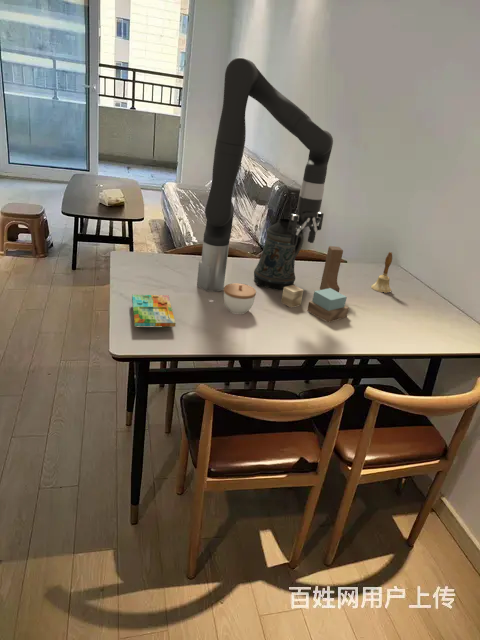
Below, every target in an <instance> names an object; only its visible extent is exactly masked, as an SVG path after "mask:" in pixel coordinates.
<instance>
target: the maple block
mask: <svg viewBox="0 0 480 640" xmlns="http://www.w3.org/2000/svg"><path fill="white" fill-rule="evenodd" d="M303 294H304V289H302V288H300V287H298V286H296V284H295V285H294V284H293V285H291V286H286V287H284V288H283V290H282V295H281V301H280V302H281V303H282V304H284V305H285V306H287V307H289V308H294V307H295V308H296V307H299V306H301V303H302V300H303V299H302V298H303Z"/></svg>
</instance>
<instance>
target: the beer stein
mask: <svg viewBox="0 0 480 640" xmlns="http://www.w3.org/2000/svg"><path fill="white" fill-rule="evenodd" d="M289 220H290V218H279V220H278V221H277V222H276V223H273V224H272V225H270V226H269V227H268V228H266V236H267V237H266V240H265V243H264V247H263V249H262V253H261V255H260V258H259V261H258V263H257V265H256V266H255V268H254V270H253V276H254V278H253V279H254V283H256V284H257V285H258V286H261V287H263V288H264V289H265V288H266V289H271V290H275V291H276V290H278V291H280V290H282V291H283V288H284V287H286V286H291V285H294V283H295V281H296V274H295V261H296V258H297V256H298V255H299V253H300V251H301V249H302V247H303V244H304V235H303V232H302V230H301V231H300V232H299V234H298V240H297V245H295V246H294V245H292V244H291V243H290V241H291V235H292V233H291V232H288V231H287V230H288V225H289ZM292 228H293V226H292V227H291V229H292ZM297 229H298V228H297ZM297 229H296V230H297ZM296 230H295V231H296Z"/></svg>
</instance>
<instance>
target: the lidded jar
mask: <svg viewBox="0 0 480 640" xmlns="http://www.w3.org/2000/svg"><path fill="white" fill-rule="evenodd" d="M256 293H257V291H256V289H255V287H252V286H250V285H248V284H244V283H233V282H232V283H229V284H226V285H224V289H223V303H224V305H225V308H226V309H227V310H228V312H230V313H232V314H235V315H244V314H246V313H247V312H248V311H249V310H250V309H251V308H252V306H253V305H254V302H255V299H256V295H257V294H256Z"/></svg>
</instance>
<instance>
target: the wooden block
mask: <svg viewBox="0 0 480 640" xmlns="http://www.w3.org/2000/svg"><path fill="white" fill-rule="evenodd" d="M343 253H344V250H343V249H342V248H341V247H340V246H332V245H329V246H328V249H327V254H326V259H325V263H324V266H323V267H324V268H323V271H322V277H321V281H320V285H319V286H320V287H319V290H323V289H328V288H331V289H333V290H335V291H337V292H339V293H340V286H339V285H338V275H339V271H340V266H341V262H342V257H343Z"/></svg>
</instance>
